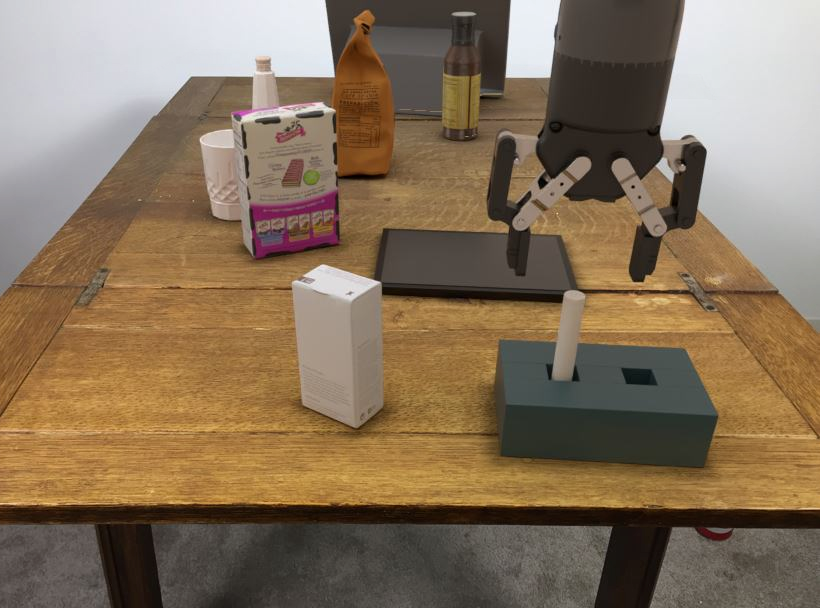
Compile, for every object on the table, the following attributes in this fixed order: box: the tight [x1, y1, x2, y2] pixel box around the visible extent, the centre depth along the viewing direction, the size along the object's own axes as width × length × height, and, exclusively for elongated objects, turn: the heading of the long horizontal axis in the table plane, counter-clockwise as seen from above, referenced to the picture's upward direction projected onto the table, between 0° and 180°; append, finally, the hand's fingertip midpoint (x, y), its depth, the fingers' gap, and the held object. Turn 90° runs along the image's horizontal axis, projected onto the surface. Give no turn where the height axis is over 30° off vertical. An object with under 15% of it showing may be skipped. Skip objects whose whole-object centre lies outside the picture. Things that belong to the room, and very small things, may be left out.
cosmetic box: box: [291, 263, 385, 429], centre depth 64 cm, size 6×4×12 cm
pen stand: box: [493, 338, 720, 468], centre depth 64 cm, size 10×16×5 cm, turn 85°
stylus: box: [551, 290, 586, 381], centre depth 62 cm, size 2×2×12 cm
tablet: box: [373, 227, 580, 303], centre depth 91 cm, size 16×22×1 cm
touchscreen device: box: [324, 0, 512, 117], centre depth 148 cm, size 35×20×30 cm, turn 77°
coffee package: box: [330, 10, 396, 178], centre depth 116 cm, size 10×12×22 cm
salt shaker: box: [251, 55, 281, 110], centre depth 141 cm, size 5×5×11 cm
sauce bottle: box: [441, 12, 481, 142], centre depth 130 cm, size 6×6×20 cm
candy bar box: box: [230, 101, 341, 260], centre depth 92 cm, size 11×5×16 cm, turn 114°
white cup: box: [199, 128, 242, 221], centre depth 103 cm, size 8×8×10 cm
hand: (577, 275), depth 58 cm, fingers open, 8 cm apart
